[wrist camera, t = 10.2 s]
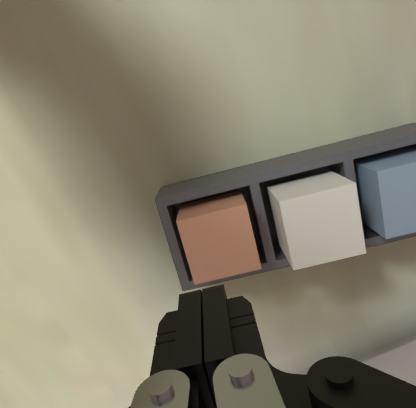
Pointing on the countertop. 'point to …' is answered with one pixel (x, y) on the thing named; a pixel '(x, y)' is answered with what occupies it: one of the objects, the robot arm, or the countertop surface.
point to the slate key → (388, 192)
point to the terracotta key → (218, 237)
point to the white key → (317, 219)
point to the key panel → (259, 198)
